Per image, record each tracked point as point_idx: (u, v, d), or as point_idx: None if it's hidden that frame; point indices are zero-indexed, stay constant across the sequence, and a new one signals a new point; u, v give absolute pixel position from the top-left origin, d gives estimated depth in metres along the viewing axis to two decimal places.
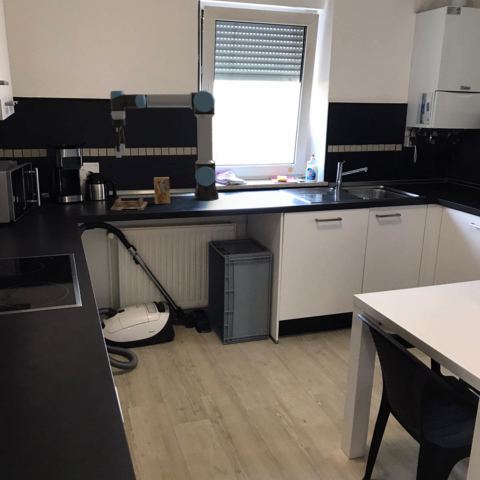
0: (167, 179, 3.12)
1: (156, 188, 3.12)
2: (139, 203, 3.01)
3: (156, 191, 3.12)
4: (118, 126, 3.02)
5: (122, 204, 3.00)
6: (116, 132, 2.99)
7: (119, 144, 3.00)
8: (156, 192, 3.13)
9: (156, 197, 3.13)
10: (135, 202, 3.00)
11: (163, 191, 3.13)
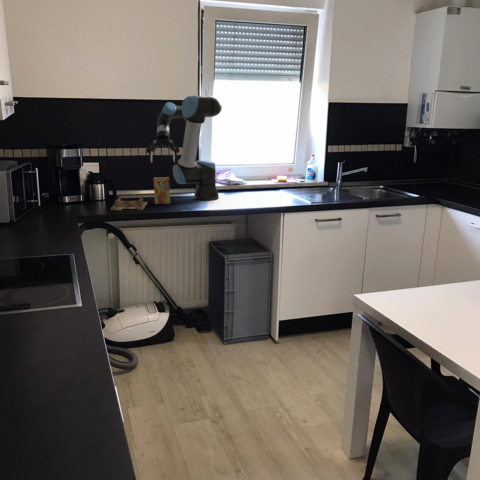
0: (167, 179, 3.12)
1: (156, 188, 3.12)
2: (139, 203, 3.01)
3: (156, 191, 3.12)
4: (157, 139, 3.31)
5: (122, 204, 3.00)
6: None
7: (149, 150, 3.25)
8: (156, 192, 3.13)
9: (156, 197, 3.13)
10: (135, 202, 3.00)
11: (163, 191, 3.13)
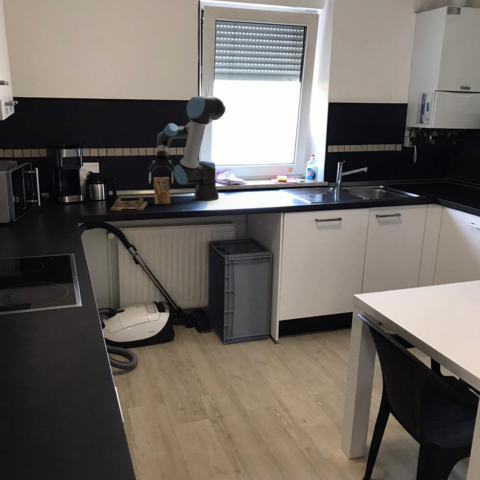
0: (167, 179, 3.12)
1: (156, 188, 3.12)
2: (139, 203, 3.01)
3: (156, 191, 3.12)
4: (156, 159, 3.28)
5: (122, 204, 3.00)
6: None
7: (147, 171, 3.22)
8: (156, 192, 3.13)
9: (156, 197, 3.13)
10: (135, 202, 3.00)
11: (163, 191, 3.13)
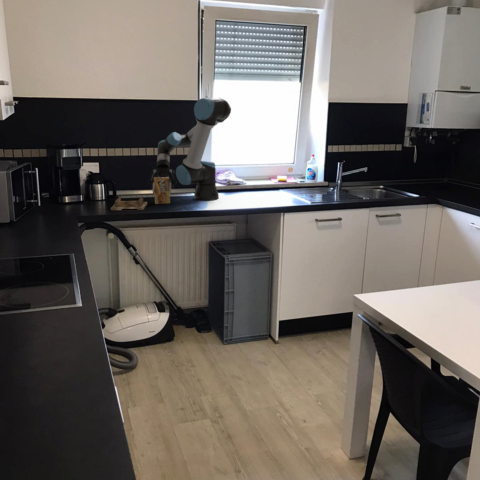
0: (167, 179, 3.12)
1: (156, 188, 3.12)
2: (139, 203, 3.01)
3: (156, 191, 3.12)
4: None
5: (122, 204, 3.00)
6: None
7: (151, 182, 3.17)
8: (156, 192, 3.13)
9: (156, 197, 3.13)
10: (135, 202, 3.00)
11: (163, 191, 3.13)
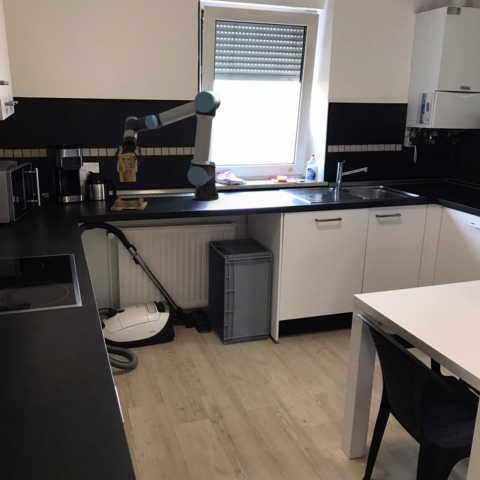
0: (132, 156, 2.98)
1: (121, 165, 2.98)
2: (139, 203, 3.01)
3: (121, 168, 2.99)
4: None
5: (122, 204, 3.00)
6: None
7: (116, 159, 3.03)
8: (121, 169, 2.99)
9: (121, 175, 3.00)
10: (135, 202, 3.00)
11: (128, 168, 3.00)
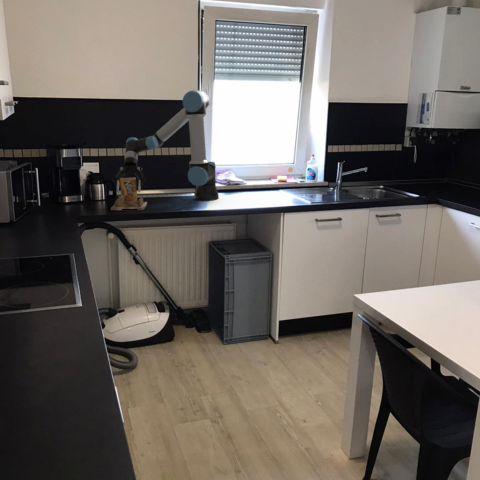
0: (133, 180, 3.01)
1: (122, 189, 3.01)
2: (139, 203, 3.01)
3: (122, 192, 3.02)
4: None
5: (122, 204, 3.00)
6: None
7: (115, 179, 3.06)
8: (122, 193, 3.02)
9: (122, 198, 3.03)
10: (135, 202, 3.00)
11: (129, 192, 3.03)
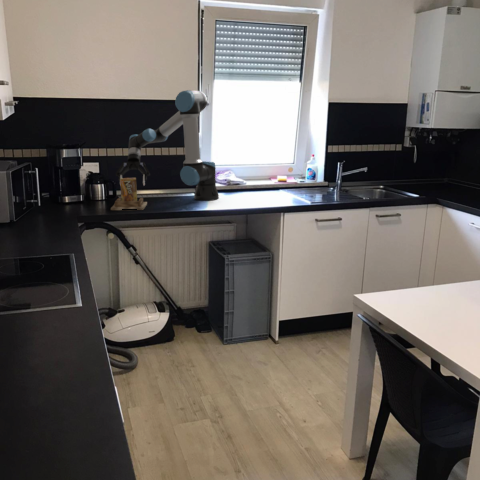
0: (134, 180, 3.01)
1: (122, 189, 3.01)
2: (139, 203, 3.01)
3: (122, 192, 3.02)
4: None
5: (122, 204, 3.00)
6: None
7: (118, 173, 3.19)
8: (122, 193, 3.02)
9: (122, 198, 3.03)
10: (135, 202, 3.00)
11: (130, 192, 3.03)
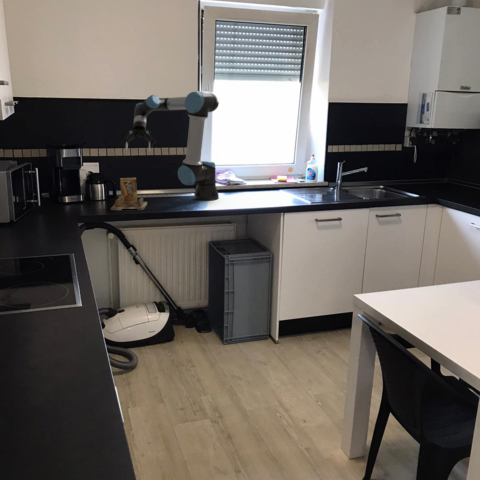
0: (134, 180, 3.01)
1: (122, 189, 3.01)
2: (139, 203, 3.01)
3: (122, 192, 3.02)
4: (133, 129, 3.23)
5: (122, 204, 3.00)
6: None
7: (124, 141, 3.17)
8: (122, 193, 3.02)
9: (122, 198, 3.03)
10: (135, 202, 3.00)
11: (130, 192, 3.03)
